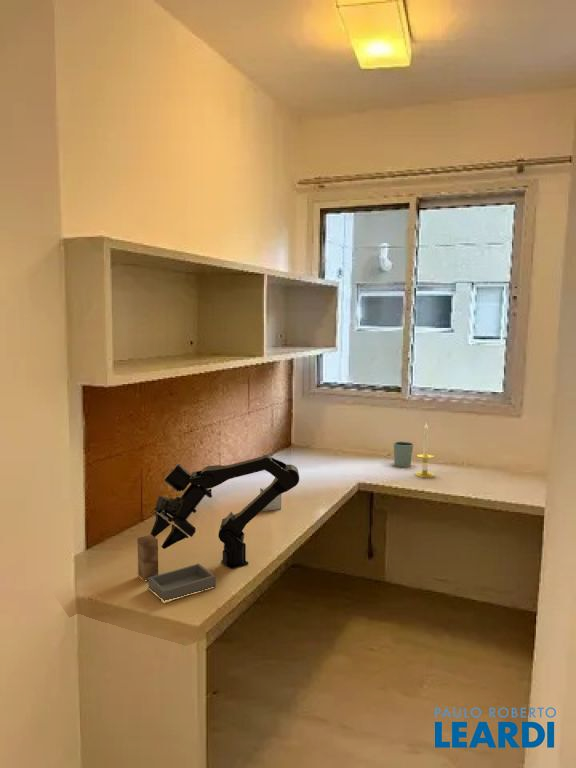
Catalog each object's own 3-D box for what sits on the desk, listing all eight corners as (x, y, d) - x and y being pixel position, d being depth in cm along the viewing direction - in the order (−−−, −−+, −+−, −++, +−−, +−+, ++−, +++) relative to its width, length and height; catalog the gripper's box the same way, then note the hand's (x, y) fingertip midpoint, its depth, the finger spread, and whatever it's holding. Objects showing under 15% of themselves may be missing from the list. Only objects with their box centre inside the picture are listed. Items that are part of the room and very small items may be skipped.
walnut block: (152, 572, 173) (151, 534, 172) (158, 577, 169) (157, 539, 168) (138, 576, 170) (137, 538, 169) (144, 581, 167) (143, 542, 165)
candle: (412, 472, 289) (414, 420, 286) (432, 472, 289) (434, 420, 285) (417, 477, 279) (418, 423, 276) (437, 477, 279) (439, 423, 276)
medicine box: (277, 506, 235) (278, 485, 234) (281, 509, 231) (281, 488, 230) (259, 508, 232) (259, 487, 231) (263, 511, 228) (263, 490, 227)
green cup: (389, 464, 304) (389, 442, 302) (404, 462, 309) (404, 440, 307) (401, 468, 295) (402, 446, 294) (416, 466, 300) (417, 444, 298)
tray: (198, 574, 172) (198, 563, 171) (215, 587, 163) (215, 576, 163) (148, 589, 162) (148, 577, 162) (163, 603, 154) (163, 591, 154)
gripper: (159, 478, 179) (126, 519, 174) (185, 493, 164) (150, 538, 159) (182, 498, 185) (151, 538, 180) (209, 514, 170) (176, 558, 165)
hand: (156, 542), depth 171 cm, fingers open, 9 cm apart
